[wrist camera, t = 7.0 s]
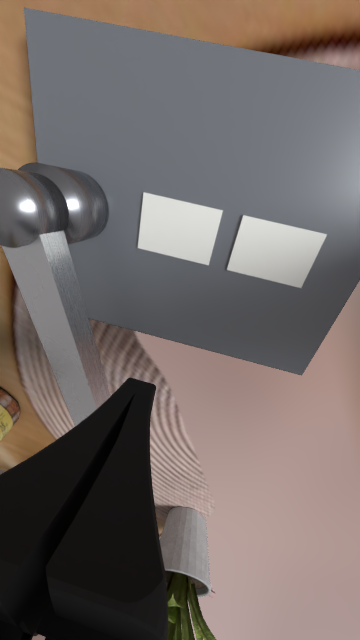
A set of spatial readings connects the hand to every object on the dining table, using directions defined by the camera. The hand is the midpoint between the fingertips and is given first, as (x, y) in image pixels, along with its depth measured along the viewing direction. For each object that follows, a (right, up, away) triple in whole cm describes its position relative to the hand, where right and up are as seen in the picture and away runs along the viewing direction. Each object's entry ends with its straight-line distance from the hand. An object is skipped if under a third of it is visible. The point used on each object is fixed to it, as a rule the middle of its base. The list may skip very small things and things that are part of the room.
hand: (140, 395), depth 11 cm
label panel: (+3, +9, +3) cm, 10 cm away
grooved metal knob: (-4, +11, +4) cm, 12 cm away
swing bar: (-4, +2, +3) cm, 5 cm away
